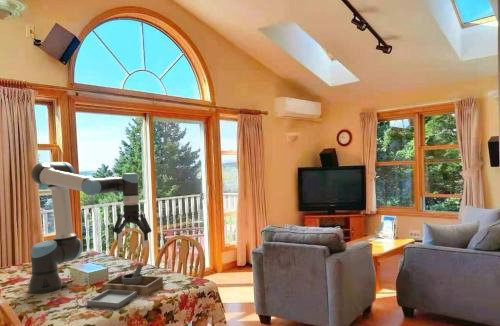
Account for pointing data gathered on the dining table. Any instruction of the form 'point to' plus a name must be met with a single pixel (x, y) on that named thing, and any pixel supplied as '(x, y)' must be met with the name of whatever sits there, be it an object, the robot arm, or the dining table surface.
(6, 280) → the dining table surface
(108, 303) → the tray
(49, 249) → the robot arm
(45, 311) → the dining table surface
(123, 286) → the tray
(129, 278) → the mortar and pestle
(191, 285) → the dining table surface
